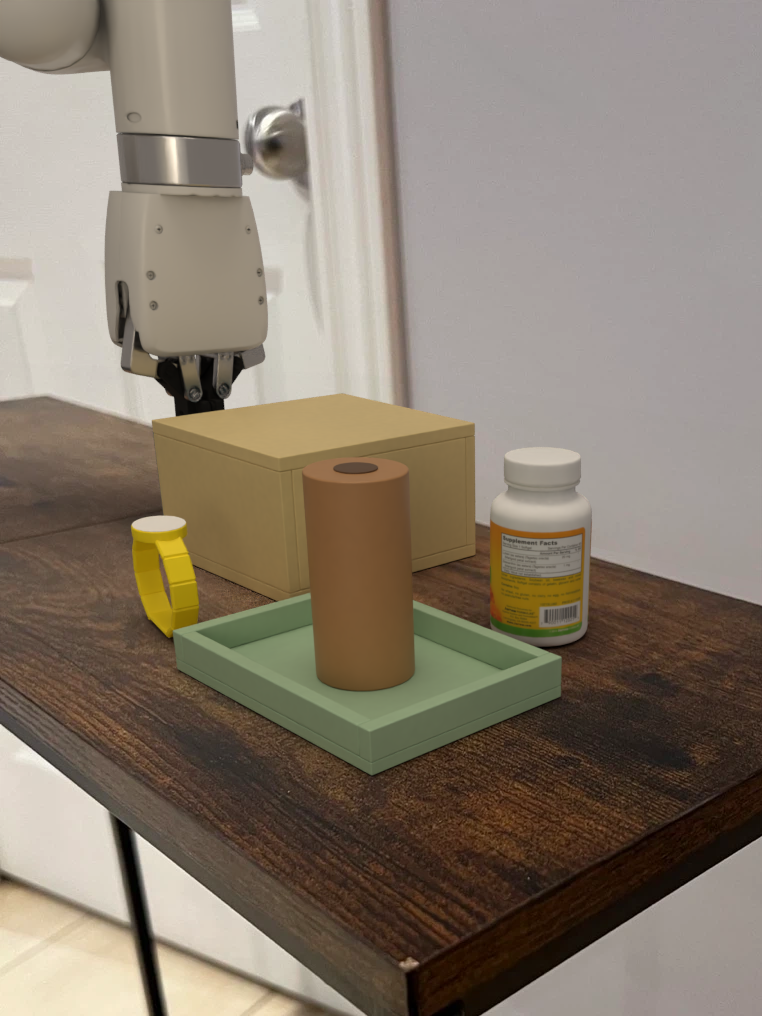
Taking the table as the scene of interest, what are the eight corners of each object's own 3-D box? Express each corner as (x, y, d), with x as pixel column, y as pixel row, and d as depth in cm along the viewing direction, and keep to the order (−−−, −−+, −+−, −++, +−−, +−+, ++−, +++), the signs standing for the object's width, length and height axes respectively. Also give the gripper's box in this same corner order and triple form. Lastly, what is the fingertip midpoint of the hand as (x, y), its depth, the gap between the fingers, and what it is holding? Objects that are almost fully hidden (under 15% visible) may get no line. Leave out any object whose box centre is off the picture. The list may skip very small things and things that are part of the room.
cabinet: (167, 554, 74) (150, 419, 71) (348, 513, 84) (342, 393, 80) (290, 607, 66) (278, 457, 62) (475, 555, 75) (475, 422, 72)
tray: (176, 669, 58) (171, 629, 57) (360, 613, 65) (359, 578, 64) (371, 776, 48) (369, 730, 47) (561, 696, 55) (562, 656, 55)
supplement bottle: (513, 608, 66) (515, 439, 62) (601, 622, 65) (609, 449, 60) (473, 639, 62) (472, 459, 58) (566, 655, 60) (572, 471, 56)
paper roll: (305, 689, 54) (289, 478, 50) (329, 651, 59) (316, 453, 54) (405, 694, 54) (398, 482, 50) (422, 655, 58) (417, 457, 54)
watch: (127, 617, 64) (112, 512, 61) (175, 607, 65) (162, 505, 63) (165, 651, 60) (151, 540, 57) (216, 640, 61) (204, 531, 59)
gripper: (243, 172, 81) (258, 433, 89) (40, 163, 71) (77, 459, 79) (310, 176, 77) (320, 450, 85) (104, 167, 66) (137, 481, 74)
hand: (203, 454), depth 82 cm, fingers closed
